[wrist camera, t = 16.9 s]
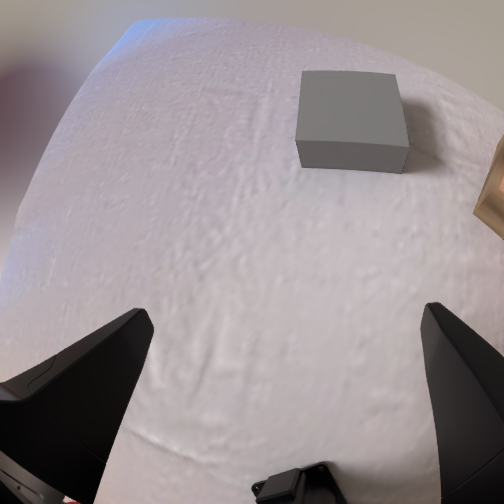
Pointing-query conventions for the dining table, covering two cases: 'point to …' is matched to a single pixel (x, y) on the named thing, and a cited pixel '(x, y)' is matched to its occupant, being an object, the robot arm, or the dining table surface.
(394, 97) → the charcoal plinth
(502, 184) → the terracotta block
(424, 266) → the dining table surface
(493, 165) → the walnut block
